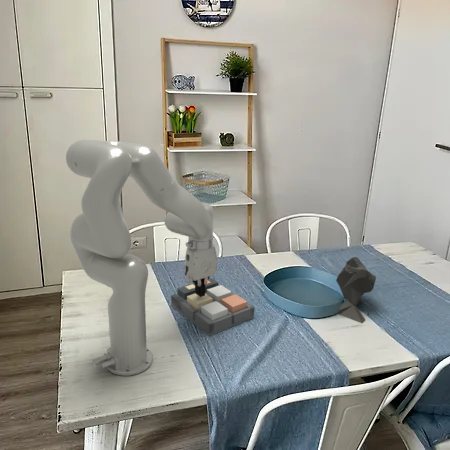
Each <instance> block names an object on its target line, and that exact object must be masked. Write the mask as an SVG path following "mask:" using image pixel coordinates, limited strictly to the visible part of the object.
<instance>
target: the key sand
mask: <svg viewBox="0 0 450 450" xmlns="http://www.w3.org/2000/svg"><path fill="white" fill-rule="evenodd" d="M212 302H213V298H211V297H210V296H208V295H207V294H205V296H202V297H200V296H198V295H197V294H196V293H195V294H192V295H189V296H187V303H188V304H189V305H191V306H192V307H193V308H195V309H196V310H199V309H201V306H204V305H207V304H209V303H212Z"/></svg>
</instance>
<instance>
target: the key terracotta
mask: <svg viewBox="0 0 450 450" xmlns="http://www.w3.org/2000/svg"><path fill="white" fill-rule="evenodd" d="M234 294H235V293H234ZM247 303H248V301H247V300H246V299H244V298H242V297H241V296H239V295H238V294H235V295H232V296H229V297H226V298H223V299H221V305H223V306H224V307H226V308H227V309H228V311H230V312H231V313H232V314H233V313H235V312H238V311H240V310H243V309H245V308H247Z"/></svg>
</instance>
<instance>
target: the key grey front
mask: <svg viewBox="0 0 450 450" xmlns="http://www.w3.org/2000/svg"><path fill="white" fill-rule="evenodd" d="M201 314H203V315H204V316H205V317H207V318H208V319H209V320H211V321H215V320H217V319H220V318H222V317H225V316H227V315H228V309H227V308H226V307H224V306H223V305H221V304H220V303H218V302H217V301H215V302H212V303H209V304H207V305H204V306H201Z"/></svg>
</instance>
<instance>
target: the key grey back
mask: <svg viewBox="0 0 450 450" xmlns="http://www.w3.org/2000/svg"><path fill="white" fill-rule="evenodd" d="M232 293H233V292H232V291H231V290H229V288H226V287H225V286H223V285H221V284H219V286H216V287H213V288H210V289H207V295H208V296H210V297H211V298H213V301H217V302H218V303H219V302H221V299H223V298H226V297H229V296H232Z"/></svg>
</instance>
